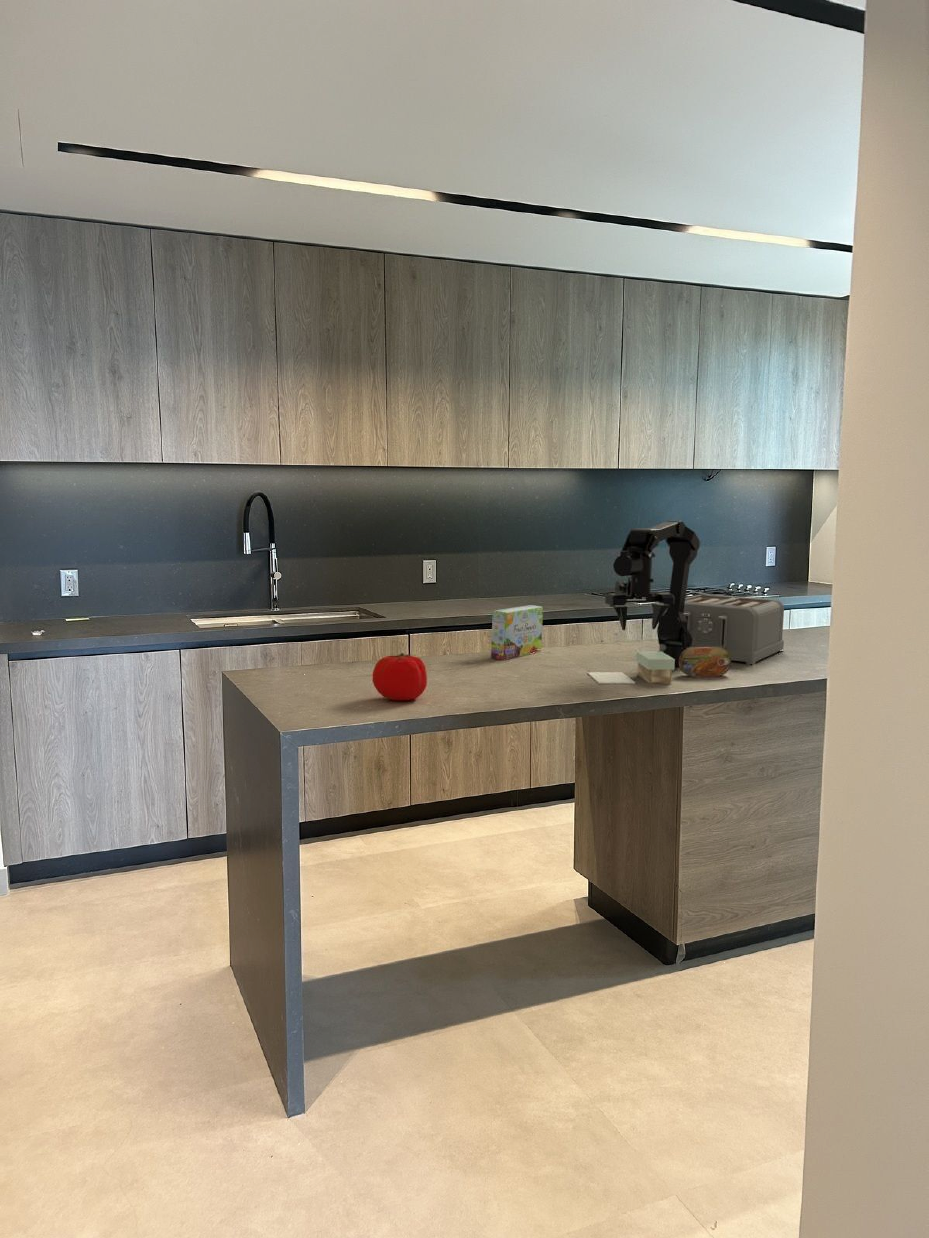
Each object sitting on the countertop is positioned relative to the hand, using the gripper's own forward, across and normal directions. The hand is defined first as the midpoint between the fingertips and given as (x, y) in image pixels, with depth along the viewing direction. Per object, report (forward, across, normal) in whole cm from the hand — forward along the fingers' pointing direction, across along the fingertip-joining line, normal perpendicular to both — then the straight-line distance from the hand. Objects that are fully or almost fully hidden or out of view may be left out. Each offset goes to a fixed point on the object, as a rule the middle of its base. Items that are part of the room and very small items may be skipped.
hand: (638, 629), depth 259 cm
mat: (+13, +9, +2) cm, 16 cm away
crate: (+13, -3, +5) cm, 14 cm away
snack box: (+14, +23, -38) cm, 47 cm away
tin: (+14, -20, +3) cm, 24 cm away
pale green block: (+11, -3, +5) cm, 12 cm away
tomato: (+14, +71, +15) cm, 74 cm away
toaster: (+14, -44, -29) cm, 55 cm away
